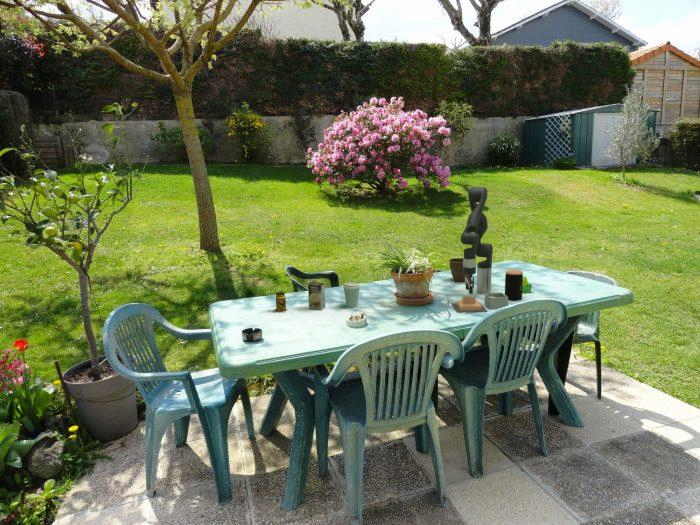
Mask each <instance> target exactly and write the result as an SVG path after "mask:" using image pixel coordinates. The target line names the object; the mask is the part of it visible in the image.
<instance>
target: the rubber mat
mask: <svg viewBox="0 0 700 525" xmlns="http://www.w3.org/2000/svg"><path fill="white" fill-rule="evenodd" d="M478 302H479V303H480V304H481V306H482V310H463V311H461V310H460V309H459V308H458V306H457V305H456V302H453V303H452V302H451V303H450V305H451V304H452V305H451V306H452V307H454V308H453V309H454V310H455V312H456V313H457V314H459V313H463V312H466V313H488V310H487V309H486V307H485V306H484V305H483V304H482V303H481V302H480V301H478Z"/></svg>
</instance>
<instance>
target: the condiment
mask: <svg viewBox="0 0 700 525" xmlns="http://www.w3.org/2000/svg"><path fill="white" fill-rule="evenodd" d="M286 299H287V298H286V293H285V292H284V291H281V290H280V291H277V292H275V305H276V306H275V307H276V308H275V309H273V310H272V311H271V312H272V313H285V312H287V311H288V310H289V308H287V300H286Z"/></svg>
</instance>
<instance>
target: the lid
mask: <svg viewBox="0 0 700 525" xmlns="http://www.w3.org/2000/svg"><path fill="white" fill-rule="evenodd" d="M479 302H480V301H478V300H477V299H476V296H474V295H465V296H464V295H463V296H462V300H461V299H460V300H456V301H455V303H456V305H457V306H458V308H459V309H460V310H461V311H463V310H482V306H481V304H482V303H481V302H480V303H481V304H480V303H479Z"/></svg>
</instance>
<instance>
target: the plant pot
mask: <svg viewBox="0 0 700 525" xmlns="http://www.w3.org/2000/svg"><path fill="white" fill-rule="evenodd" d="M463 260H464V257H462V258H461V257H458V258H456V257H455V258H450V259H449V260H448V262H449V268H450V272H451V276H452V279H453V281H455V282H454V283H457V282H463V283H465V274H464V273H463Z"/></svg>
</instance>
